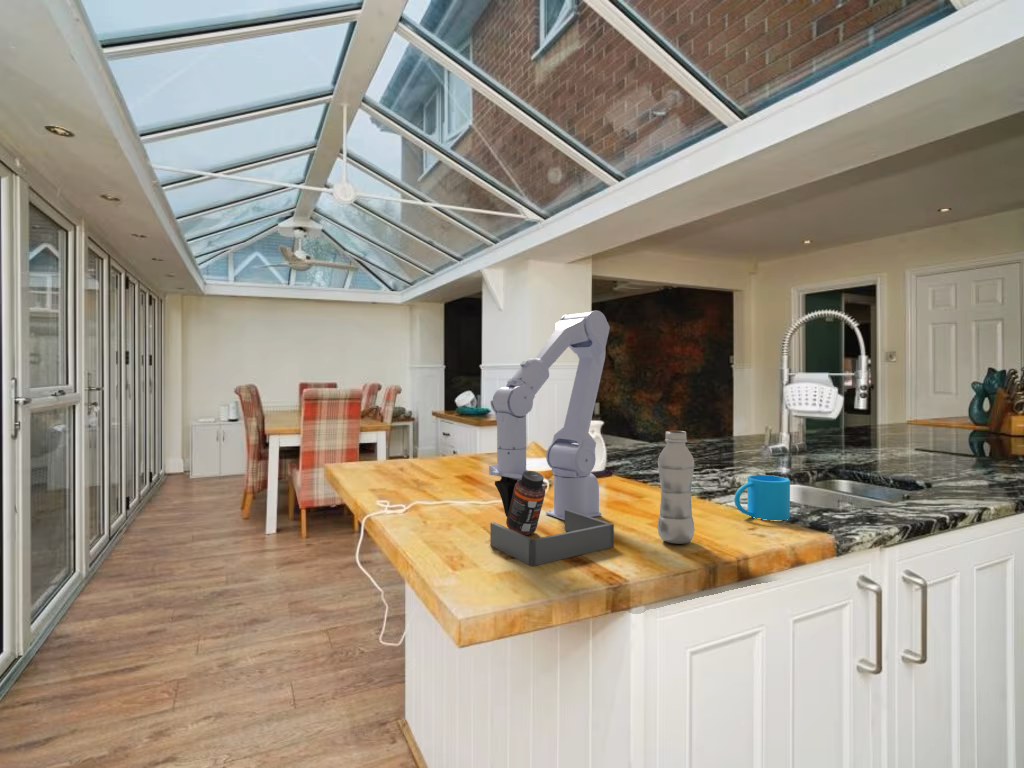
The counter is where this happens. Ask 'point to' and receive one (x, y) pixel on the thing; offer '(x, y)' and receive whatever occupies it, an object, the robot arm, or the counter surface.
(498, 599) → the counter surface
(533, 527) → the supplement bottle
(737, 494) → the mug
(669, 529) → the plastic bottle
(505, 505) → the robot arm
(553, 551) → the box
